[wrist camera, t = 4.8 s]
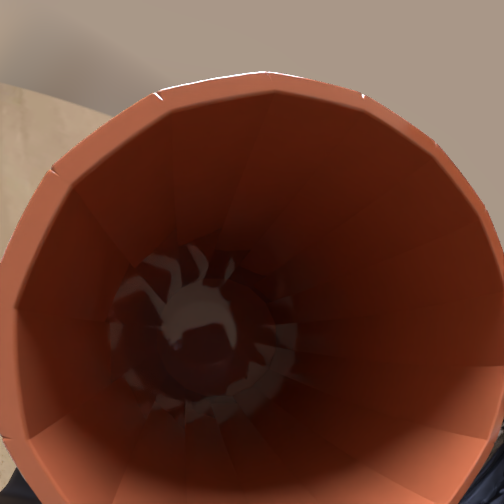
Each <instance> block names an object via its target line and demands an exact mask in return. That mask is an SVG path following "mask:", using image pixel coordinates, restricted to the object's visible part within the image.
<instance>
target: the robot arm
mask: <svg viewBox="0 0 504 504" xmlns="http://www.w3.org/2000/svg"><path fill="white" fill-rule="evenodd" d="M0 504H42V503H41V502H40V501H39V499H38V498H37V497H36V495H35V494H34V492H33V491H32V489H31V488H30V487H29V485H28V484H27V482H26V481H25V479H24V478H23V476H22V474H21V473H20V471H19V470H18V468H17V467H16V469H15V471H14V473H13V475H12V477H11V479H10V480H9V482H8V484H7V485H6V486H5V488H4V489H3V490H2V491H1V492H0ZM458 504H504V419H503V422H502V425H501V428H500V431H499V434H498V437H497V440H496V442H495V443H494V447H493V449H492V450H491V452H490V454H489V456H488V458H487V460H486V461H485V463H484V465H483V466H482V468H481V470H480V471H479V473H478V475H477V476H476V478H475V479H474V481H473V483H472V484H471V486H470V487H469V489H468V490H467V492H466V493H465V494H464V496H463V497H462V499H461V500H460V501H459V503H458Z"/></svg>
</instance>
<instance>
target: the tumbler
mask: <svg viewBox="0 0 504 504" xmlns="http://www.w3.org/2000/svg"><path fill="white" fill-rule="evenodd" d="M503 419H504V253H503V250H502V247H501V244H500V241H499V238H498V236H497V233H496V231H495V228H494V225H493V223H492V221H491V218H490V216H489V213H488V211H487V210H486V209H485V205H484V204H483V202H482V201H481V200H480V198H479V197H478V195H477V194H476V192H475V191H474V189H473V188H472V187H471V185H470V184H469V183H468V181H467V180H466V178H465V177H464V176H463V175H462V173H461V172H460V171H459V169H458V168H457V167H456V166H455V164H454V163H453V162H452V161H451V159H450V158H449V157H448V156H447V155H446V153H445V152H444V151H443V150H442V149H441V147H440V146H439V145H438V144H436V143H435V141H434V140H433V139H431V138H430V137H429V136H427V135H426V134H424V133H423V132H422V131H420V130H419V129H418V128H416V127H415V126H413V125H412V124H411V123H409V122H408V121H406V120H404V119H403V118H402V117H400V116H399V115H397V114H396V113H394V112H393V111H391V110H390V109H388V108H386V107H385V106H383V105H382V104H380V103H378V102H377V101H375V100H373V99H372V98H370V97H368V96H367V95H365V94H363V95H362V94H361V93H360V92H358V91H354V90H351V89H347V88H344V87H340V86H336V85H332V84H329V83H324V82H320V81H316V80H311V79H307V78H302V77H297V76H292V75H287V74H282V73H276V72H267V73H266V72H264V71H262V72H253V73H245V74H237V75H230V76H224V77H218V78H212V79H207V80H201V81H196V82H192V83H187V84H183V85H178V86H173V87H169V88H165V89H162V90H159V91H157V93H151V94H149V95H148V96H146V97H144V98H143V99H141V100H140V101H138V102H136V103H135V104H133V105H132V106H130V107H128V108H127V109H125V110H124V111H122V112H121V113H120V114H118V115H116V116H115V117H113V118H112V119H111V120H109V121H108V122H106V123H105V124H104V125H102V126H101V127H99V128H98V129H97V130H95V131H94V132H93V133H91V134H90V135H89V136H87V137H86V138H85V139H83V140H82V141H81V142H80V143H78V144H77V145H76V146H75V147H73V148H72V149H71V150H70V151H68V152H67V153H66V154H65V155H64V156H62V157H61V158H60V159H59V160H58V161H57V162H55V163H54V164H53V165H52V167H51V170H48V171H47V172H46V174H45V176H44V177H43V179H42V180H41V182H40V184H39V185H38V187H37V189H36V191H35V192H34V194H33V196H32V198H31V199H30V201H29V203H28V205H27V207H26V209H25V210H24V212H23V214H22V216H21V218H20V220H19V222H18V224H17V226H16V228H15V230H14V232H13V235H12V237H11V239H10V241H9V243H8V245H7V248H6V250H5V252H4V255H3V257H2V260H1V262H0V435H1V436H2V437H3V438H2V441H3V443H4V445H5V447H6V449H7V451H8V453H9V454H10V456H11V458H12V460H13V461H14V463H15V465H16V466H17V468H18V470H19V471H20V473H21V474H22V476H23V478H24V479H25V481H26V482H27V484H28V485H29V487H30V488H31V489H32V491H33V492H34V494H35V495H36V497H37V498H38V499H39V501H40V502H41V503H42V504H458V503H459V501H460V500H461V499H462V497H463V496H464V494H465V493H466V492H467V490H468V489H469V487H470V486H471V484H472V483H473V481H474V479H475V478H476V476H477V475H478V473H479V471H480V470H481V468H482V466H483V465H484V463H485V461H486V460H487V458H488V456H489V454H490V452H491V450H492V449H493V447H494V443H495V442H496V440H497V437H498V434H499V431H500V428H501V425H502V422H503Z"/></svg>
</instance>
